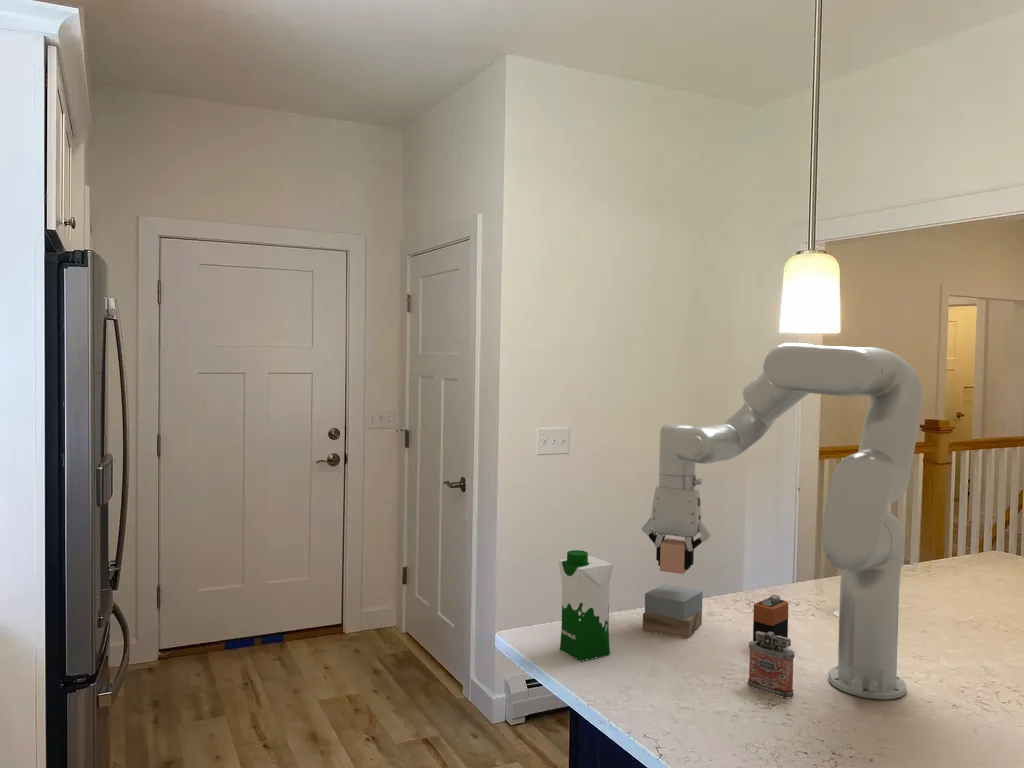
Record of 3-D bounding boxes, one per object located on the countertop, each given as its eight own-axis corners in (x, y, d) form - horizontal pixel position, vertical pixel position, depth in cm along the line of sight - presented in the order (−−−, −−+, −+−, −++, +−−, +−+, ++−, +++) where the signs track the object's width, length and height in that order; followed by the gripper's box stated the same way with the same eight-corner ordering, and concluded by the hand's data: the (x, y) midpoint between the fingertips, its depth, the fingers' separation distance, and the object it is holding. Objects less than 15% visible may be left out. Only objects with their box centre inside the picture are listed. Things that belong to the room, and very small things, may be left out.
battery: (788, 646, 158) (789, 597, 157) (772, 654, 153) (773, 604, 153) (768, 640, 161) (769, 592, 161) (751, 648, 156) (752, 599, 156)
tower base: (689, 640, 161) (689, 621, 161) (642, 632, 166) (642, 613, 166) (701, 626, 170) (701, 607, 170) (657, 618, 175) (657, 600, 175)
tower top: (683, 620, 162) (683, 601, 161) (644, 611, 167) (644, 593, 167) (702, 609, 169) (702, 591, 168) (664, 601, 174) (664, 583, 174)
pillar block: (683, 574, 164) (684, 545, 164) (659, 570, 166) (660, 542, 166) (688, 568, 168) (689, 540, 168) (666, 565, 171) (666, 537, 170)
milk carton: (553, 649, 155) (554, 549, 154) (590, 641, 159) (591, 543, 159) (579, 664, 147) (580, 559, 146) (617, 655, 152) (618, 553, 151)
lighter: (744, 686, 138) (745, 630, 138) (753, 680, 141) (754, 625, 140) (788, 700, 133) (790, 642, 132) (796, 693, 135) (798, 636, 135)
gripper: (720, 483, 166) (718, 567, 167) (643, 476, 174) (641, 557, 174) (713, 488, 159) (710, 576, 160) (632, 480, 167) (630, 565, 168)
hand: (674, 565), depth 167 cm, fingers closed on pillar block, 4 cm apart
